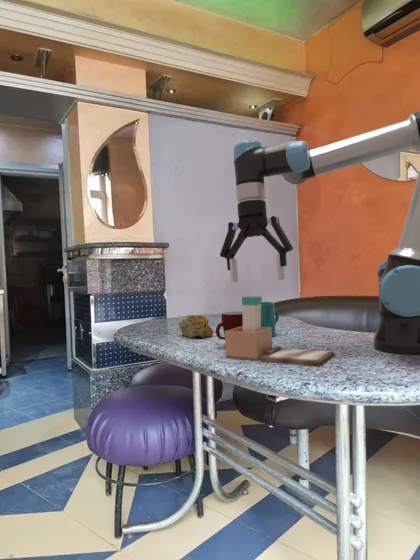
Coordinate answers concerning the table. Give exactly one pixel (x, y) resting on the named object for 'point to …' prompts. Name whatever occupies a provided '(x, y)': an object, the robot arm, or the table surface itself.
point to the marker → (251, 313)
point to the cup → (269, 316)
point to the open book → (296, 356)
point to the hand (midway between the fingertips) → (257, 281)
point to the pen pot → (247, 343)
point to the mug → (230, 322)
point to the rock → (195, 326)
